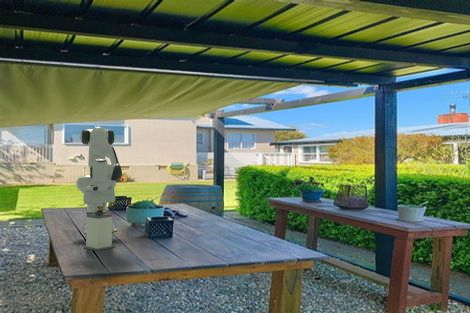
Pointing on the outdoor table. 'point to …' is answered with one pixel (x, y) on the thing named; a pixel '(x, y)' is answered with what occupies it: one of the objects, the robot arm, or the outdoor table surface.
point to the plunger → (100, 210)
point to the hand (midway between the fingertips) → (99, 210)
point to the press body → (99, 232)
